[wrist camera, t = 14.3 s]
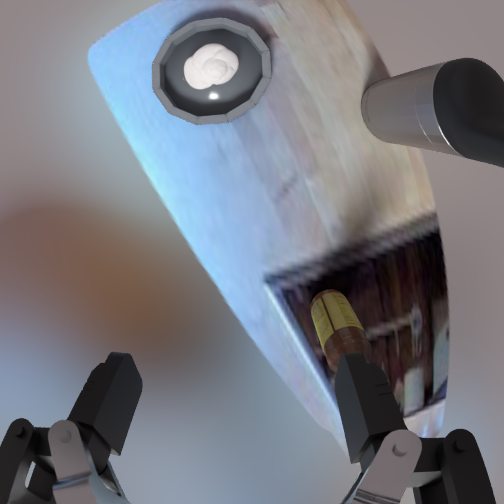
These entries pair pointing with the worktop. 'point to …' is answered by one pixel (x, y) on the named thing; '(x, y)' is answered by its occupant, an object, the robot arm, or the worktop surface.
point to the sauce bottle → (338, 327)
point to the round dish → (216, 96)
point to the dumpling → (210, 66)
